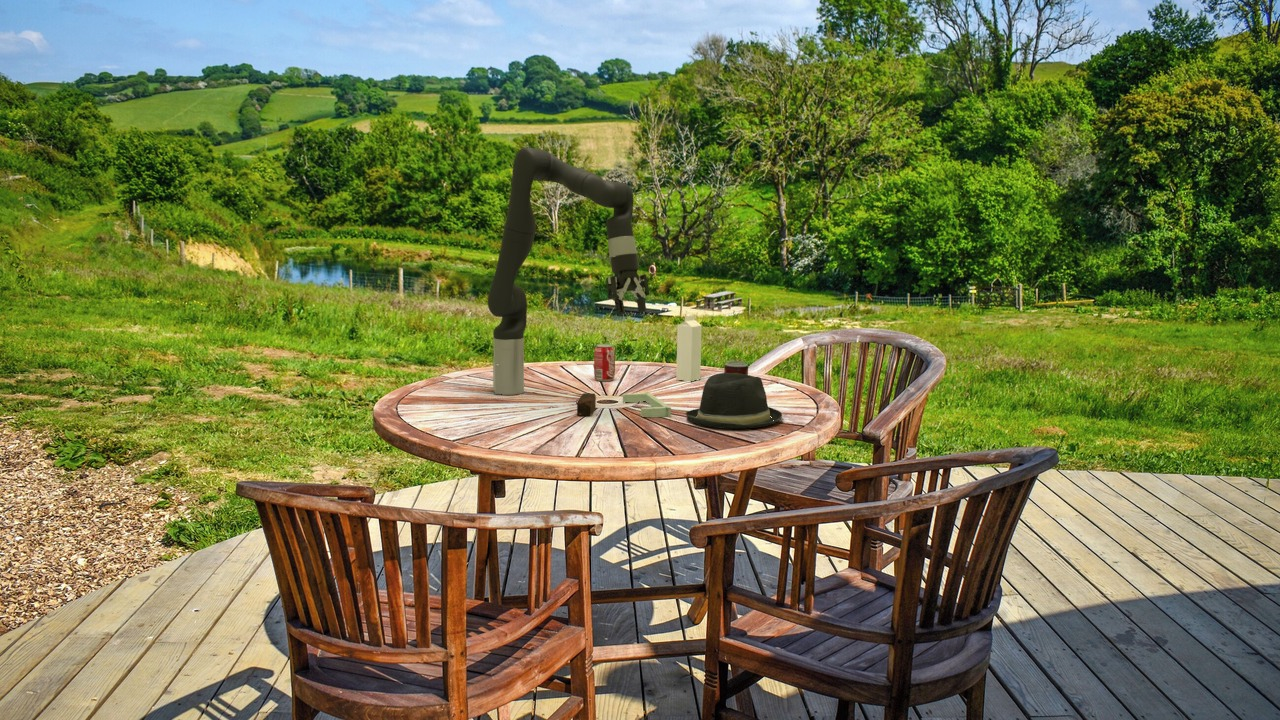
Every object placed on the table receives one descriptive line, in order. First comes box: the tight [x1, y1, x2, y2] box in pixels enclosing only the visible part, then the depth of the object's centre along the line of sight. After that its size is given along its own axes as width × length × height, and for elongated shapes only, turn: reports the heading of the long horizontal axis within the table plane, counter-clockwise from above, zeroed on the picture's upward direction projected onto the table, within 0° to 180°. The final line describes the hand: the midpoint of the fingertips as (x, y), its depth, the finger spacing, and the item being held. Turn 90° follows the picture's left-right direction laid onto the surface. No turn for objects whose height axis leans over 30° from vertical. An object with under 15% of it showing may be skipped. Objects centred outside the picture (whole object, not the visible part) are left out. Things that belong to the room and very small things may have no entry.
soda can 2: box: [723, 360, 749, 375], centre depth 257 cm, size 7×7×12 cm
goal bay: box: [622, 392, 672, 418], centre depth 247 cm, size 8×21×2 cm, turn 16°
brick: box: [576, 392, 597, 417], centre depth 242 cm, size 11×4×5 cm, turn 175°
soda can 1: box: [593, 343, 616, 383], centre depth 289 cm, size 7×7×12 cm
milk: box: [675, 315, 703, 382], centre depth 291 cm, size 6×6×22 cm
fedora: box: [685, 372, 783, 430], centre depth 235 cm, size 25×27×12 cm
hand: (631, 313), depth 235 cm, fingers open, 8 cm apart
